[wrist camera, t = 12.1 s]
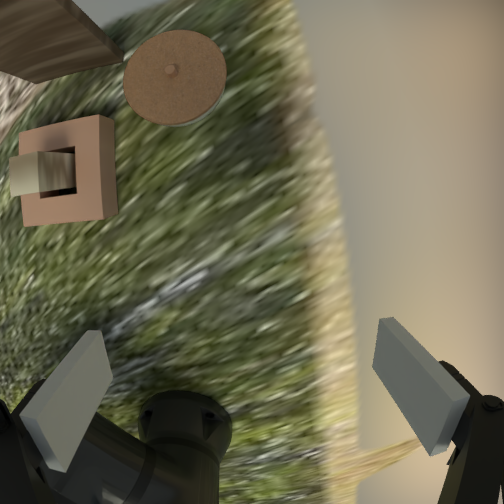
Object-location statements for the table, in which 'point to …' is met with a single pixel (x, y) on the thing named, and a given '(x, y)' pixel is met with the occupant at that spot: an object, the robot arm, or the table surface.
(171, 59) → the lidded jar
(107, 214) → the socket block
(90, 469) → the robot arm
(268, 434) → the table surface
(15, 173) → the peg
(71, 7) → the capped wooden panel
